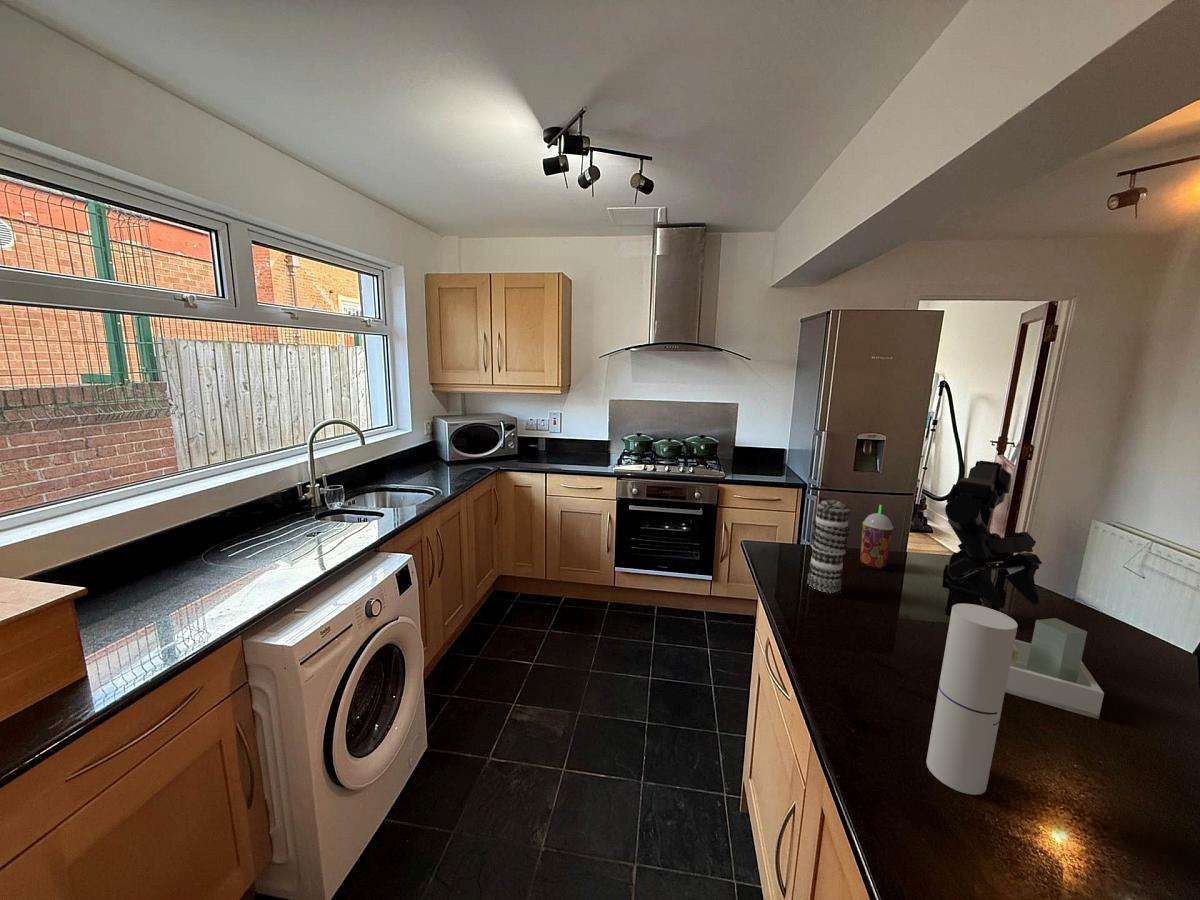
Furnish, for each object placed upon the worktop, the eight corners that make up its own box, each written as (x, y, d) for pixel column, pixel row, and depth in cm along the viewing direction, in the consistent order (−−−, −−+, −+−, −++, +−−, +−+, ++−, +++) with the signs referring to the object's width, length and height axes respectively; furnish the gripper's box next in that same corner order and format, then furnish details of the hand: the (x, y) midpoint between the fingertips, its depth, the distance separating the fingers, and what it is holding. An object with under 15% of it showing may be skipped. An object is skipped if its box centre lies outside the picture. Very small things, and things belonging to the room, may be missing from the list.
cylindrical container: (915, 755, 73) (939, 603, 69) (957, 753, 74) (984, 603, 70) (952, 795, 66) (982, 629, 62) (1000, 793, 66) (1032, 629, 63)
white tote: (969, 681, 92) (973, 658, 91) (960, 648, 104) (963, 626, 103) (1098, 719, 83) (1104, 693, 82) (1072, 677, 94) (1076, 654, 94)
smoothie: (884, 564, 151) (892, 503, 148) (890, 574, 143) (899, 510, 140) (854, 559, 154) (862, 500, 150) (859, 569, 146) (868, 506, 143)
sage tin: (1053, 697, 87) (1067, 634, 85) (1024, 680, 92) (1036, 620, 90) (1073, 694, 88) (1087, 631, 86) (1043, 677, 93) (1055, 618, 91)
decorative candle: (809, 595, 127) (819, 504, 123) (802, 580, 136) (811, 496, 132) (845, 599, 125) (857, 508, 121) (836, 585, 134) (847, 499, 130)
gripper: (970, 519, 95) (1020, 596, 86) (1039, 516, 99) (1094, 588, 91) (929, 543, 104) (970, 614, 95) (994, 539, 108) (1040, 607, 99)
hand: (1019, 606), depth 95 cm, fingers open, 9 cm apart
